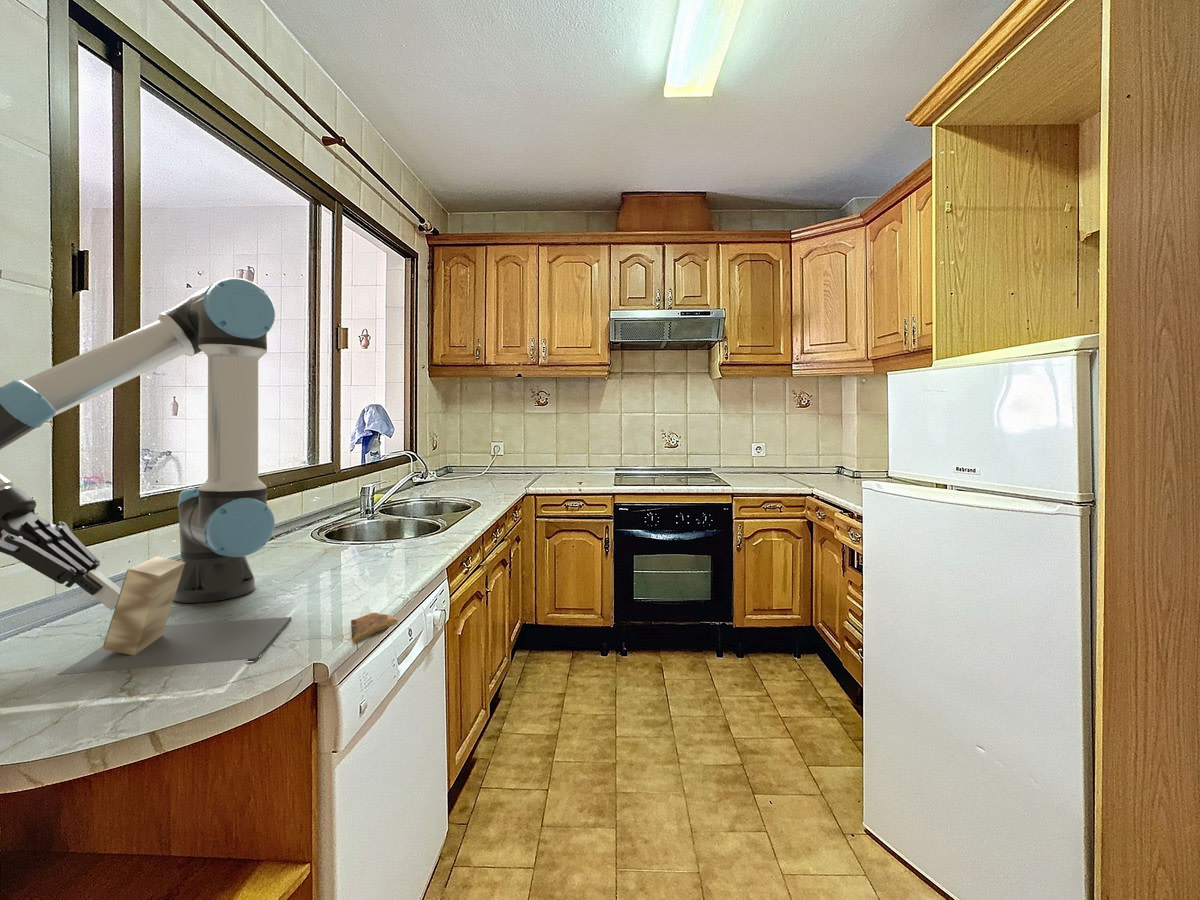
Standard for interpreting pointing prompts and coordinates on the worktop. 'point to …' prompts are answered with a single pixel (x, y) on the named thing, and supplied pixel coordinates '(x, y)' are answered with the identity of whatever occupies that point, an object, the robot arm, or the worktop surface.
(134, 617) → the birch block
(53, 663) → the worktop surface
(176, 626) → the rubber mat
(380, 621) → the shard
